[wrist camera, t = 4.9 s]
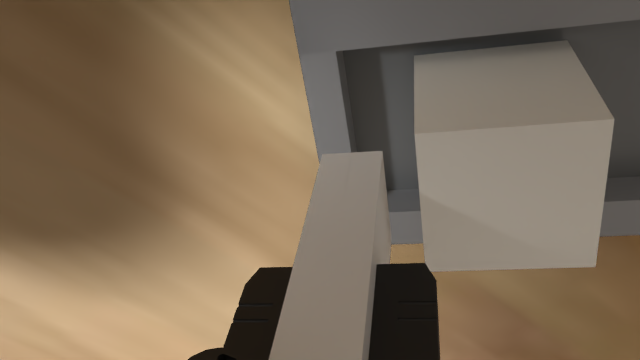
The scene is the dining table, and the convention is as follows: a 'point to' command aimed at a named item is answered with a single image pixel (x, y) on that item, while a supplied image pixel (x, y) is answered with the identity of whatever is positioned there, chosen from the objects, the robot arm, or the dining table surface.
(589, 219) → the off-white cube
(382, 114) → the gray divided tray
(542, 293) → the dining table surface
